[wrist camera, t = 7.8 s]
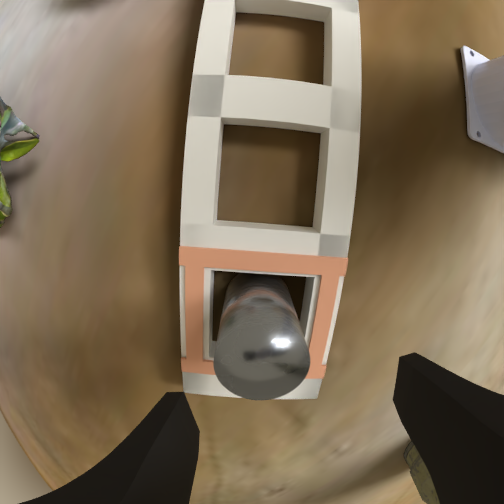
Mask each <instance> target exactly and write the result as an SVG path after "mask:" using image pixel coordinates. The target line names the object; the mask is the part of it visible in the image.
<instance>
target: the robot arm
mask: <svg viewBox="0 0 504 504" xmlns="http://www.w3.org/2000/svg"><path fill="white" fill-rule="evenodd" d="M461 56H462V63H463V70H464V79H465V90H466V104H467V132H468V136H469V137H470V138H471V139H472V140H475V141H477V142H479V143H482V144H484V145H486V146H489V147H491V148H493V149H495V150H497V151H500V152H502V153H504V55H503V56H500V57H498V58H495V59H492V60H489V59H487V58H486V57H484V56H482V55H481V54H479V53H477V52H476V51H474V50H472V49H470V48H469V47H467V46H462V47H461ZM477 134H478V136H477ZM393 401H394V404H395V407H396V409H397V412H398V415H399V417H400V419H401V422H402V424H403V426H404V428H405V429H406V431H407V433H408V435H409V437H410V438H411V440H412V442H413V444H414V445H415V447H416V449H417V451H418V453H419V454H420V456H421V458H422V460H423V462H424V463H425V465H426V467H427V469H428V472H429V474H430V476H431V479H432V482H433V484H434V487H435V490H436V493H437V496H438V499H439V503H440V504H504V395H502V394H498V393H496V392H493V391H490V390H488V389H486V388H483V387H481V386H479V385H476V384H474V383H472V382H470V381H468V380H466V379H464V378H462V377H460V376H458V375H456V374H454V373H452V372H450V371H448V370H447V369H445V368H443V367H441V366H439V365H437V364H436V363H434V362H432V361H430V360H428V359H427V358H425V357H423V356H421V355H419V354H417V353H415V352H414V353H411V354H408V355H404V356H401V357H399V364H398V371H397V378H396V384H395V390H394V396H393ZM199 433H200V431H199V428H198V426H197V424H196V421H195V419H194V416H193V414H192V411H191V409H190V406H189V404H188V401H187V399H186V396H185V394H184V392H167V393H166V394H165V395H164V396H163V397H162V398H161V400H160V401H159V402H158V403H157V404H156V405H155V406H154V408H153V409H152V410H151V411H150V412H149V413H148V415H147V416H146V417H145V418H144V419H143V420H142V421H141V423H140V424H139V425H138V426H137V427H136V428H135V429H134V430H133V431H132V432H131V433H130V435H128V436H127V437H126V438H125V439H124V440H123V441H122V442H121V443H120V444H119V445H118V446H117V447H116V448H115V449H114V450H113V451H112V452H111V453H110V454H109V455H108V456H106V457H105V458H104V459H103V460H102V461H100V462H99V463H98V464H96V465H95V466H94V467H92V468H91V469H90V470H88V471H87V472H85V473H84V474H82V475H81V476H79V477H77V478H76V479H74V480H73V481H71V482H69V483H68V484H66V485H64V486H62V487H60V488H58V489H56V490H54V491H52V492H50V493H48V494H46V495H43V496H41V497H38V498H35V499H32V500H29V501H26V502H23V503H19V504H189V500H190V495H191V490H192V485H193V480H194V475H195V470H196V465H197V460H198V452H199Z"/></svg>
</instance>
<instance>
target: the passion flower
mask: <svg viewBox="0 0 504 504" xmlns="http://www.w3.org/2000/svg"><path fill="white" fill-rule="evenodd" d="M0 127H1V130H0V131H1V133H0V228H1V227H2V225H3V224H4V220H5V218H6V217H8V216H10V214H11V212H12V209H11V197H10V194H9V191H8V188H7V185H6V181H5V178H4V175H3V173H2V168H1V160H2V161H7V162H8V161H11V160H14V159H18V158H20V157H21V156H23V155H25V154H27V153H28V152H29V151H30V150H31V149H33V148H34V147H35V146H36V145H37V143H38V142H39V140H38V139H39V135H38V134H37V133H35V132H34V131H33V130H32V129H31V128H29V127H28V126H27V125H25V124H24V123H23V122H22V121H21V120H20V119H18V118H17V117H16V116H15V114H14V112H13V111H12V109H11V107H9V106H7V105H6V104H5V103H4V102H3V100H2V99H1V97H0ZM20 131H25V132H27V133H30V134H32V135H33V136H35V137H36V138H35V139H31V140H23V141H14V142H10V141H6V140H5V139H4V135H5V134H6V135H10V136H14V135H16V134H17V133H18V132H20ZM37 138H38V139H37Z"/></svg>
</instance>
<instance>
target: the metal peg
mask: <svg viewBox="0 0 504 504" xmlns="http://www.w3.org/2000/svg"><path fill="white" fill-rule="evenodd" d="M213 366H214V371H215V374H216V377H217V378H218V380H219V382H220V383H221V384H222V385H223V386H224V387H225V388H226V389H227V390H228V391H230V392H232V393H233V394H235V395H237V396H240V397H243V398H246V399H251V400H269V399H275V398H278V397H281V396H284V395H286V394H288V393H290V392H291V391H293V390H294V389H295V388H297V387H298V386H299V385H300V384H301V383H302V382H303V380H304V379H305V377H306V375H307V374H308V371H309V368H310V353H309V350H308V347H307V344H306V341H305V338H304V335H303V332H302V329H301V326H300V323H299V320H298V317H297V314H296V311H295V308H294V305H293V302H292V299H291V296H290V293H289V290H288V288H287V285H286V283H285V282H284V281H283V279H282V278H281V277H280V276H278V275H273V274H258V273H244V272H241V273H240V274H238V275H237V276H235V277H234V278H233V279H232V281H231V282H230V283H229V285H228V287H227V290H226V293H225V299H224V304H223V310H222V315H221V321H220V326H219V332H218V337H217V343H216V349H215V354H214V361H213Z"/></svg>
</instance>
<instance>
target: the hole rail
mask: <svg viewBox="0 0 504 504" xmlns="http://www.w3.org/2000/svg"><path fill="white" fill-rule="evenodd" d="M236 12H240V13H258V14H271V15H280V16H289V17H296V18H303V19H309V20H315V21H321V22H324V76H323V85H321V84H314V83H308V82H301V81H294V80H285V79H276V78H266V77H254V76H237V75H229V67H230V58H231V49H232V41H233V33H234V25H235V17H236ZM360 123H361V38H360V19H359V6H358V0H205V2H204V7H203V12H202V18H201V24H200V29H199V35H198V41H197V48H196V54H195V61H194V68H193V76H192V84H191V92H190V100H189V109H188V119H187V129H186V141H185V153H184V166H183V182H182V201H181V226H180V246H179V265H180V331H181V356H182V357H181V369H182V374H183V390H184V392H185V393H193V394H202V395H212V396H224V397H238V398H243V397H240V396H237V395H235V394H233V393H232V392H230V391H228V390H227V389H226V388H225V387H224V386H223V385H222V384H221V383H220V382H219V380H218V378H217V377H216V374H215V371H214V366H213V361H214V354H215V349H216V343H217V341H212V328H213V294H214V270H216V271H230V272H244V273H258V274H273V275H289V276H305V277H306V283H305V290H304V297H303V303H302V310H301V316H300V326H301V329H302V332H303V335H304V338H305V341H306V344H307V347H308V350H309V353H310V368H309V371H308V374H307V375H306V377H305V379H304V380H303V382H302V383H301V384H300V385H299V386H298V387H297V388H295V389H294V390H293V391H291V392H290V393H288V394H286V395H284V396H281V397H278V398H275V399H317V396H318V393H319V389H320V385H321V382H322V378H324V374H325V370H326V362H327V358H328V353H329V349H330V345H331V340H332V336H333V331H334V327H335V322H336V317H337V312H338V307H339V302H340V297H341V291H342V286H343V280H344V276H346V270H347V264H348V258H347V255H348V249H349V242H350V235H351V227H352V219H353V211H354V202H355V193H356V182H357V171H358V158H359V143H360ZM224 124H231V125H247V126H260V127H272V128H282V129H291V130H299V131H307V132H314V133H321V137H320V152H319V165H318V177H317V188H316V198H315V208H314V218H313V227H303V226H291V225H279V224H266V223H253V222H239V221H225V220H217V209H218V193H219V179H220V165H221V152H222V140H223V128H224Z"/></svg>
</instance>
